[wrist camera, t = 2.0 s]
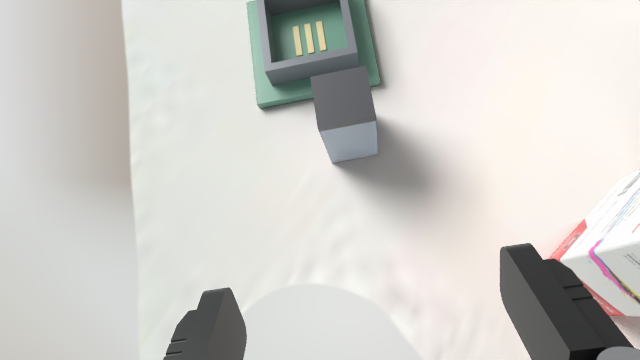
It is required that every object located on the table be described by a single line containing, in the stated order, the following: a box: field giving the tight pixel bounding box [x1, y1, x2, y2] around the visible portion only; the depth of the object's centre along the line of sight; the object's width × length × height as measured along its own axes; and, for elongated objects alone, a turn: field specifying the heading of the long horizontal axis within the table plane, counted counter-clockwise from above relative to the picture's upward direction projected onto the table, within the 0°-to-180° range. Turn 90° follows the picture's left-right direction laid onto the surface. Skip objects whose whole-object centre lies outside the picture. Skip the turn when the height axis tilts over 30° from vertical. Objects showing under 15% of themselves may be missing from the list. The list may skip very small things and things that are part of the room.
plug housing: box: [310, 66, 378, 163], centre depth 29 cm, size 4×4×7 cm
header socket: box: [246, 0, 380, 108], centre depth 34 cm, size 10×10×3 cm
